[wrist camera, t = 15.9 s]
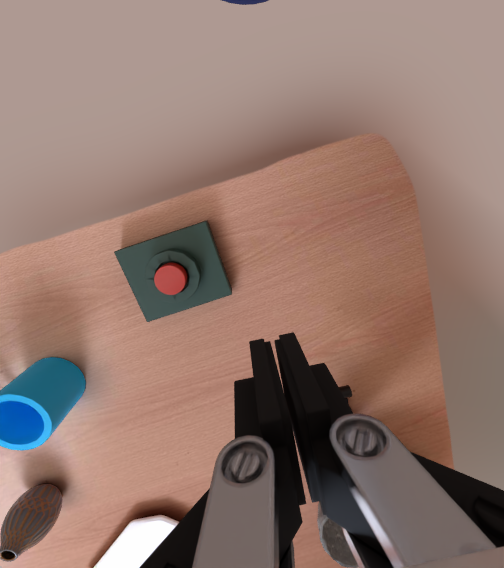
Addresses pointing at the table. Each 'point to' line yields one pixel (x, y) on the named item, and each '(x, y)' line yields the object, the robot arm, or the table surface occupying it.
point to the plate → (137, 542)
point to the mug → (38, 402)
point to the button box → (186, 252)
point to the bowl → (334, 541)
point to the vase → (29, 520)
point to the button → (170, 278)
